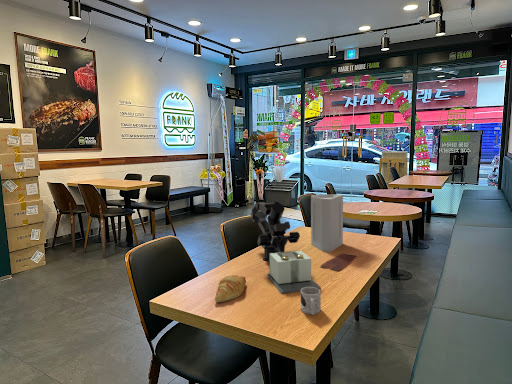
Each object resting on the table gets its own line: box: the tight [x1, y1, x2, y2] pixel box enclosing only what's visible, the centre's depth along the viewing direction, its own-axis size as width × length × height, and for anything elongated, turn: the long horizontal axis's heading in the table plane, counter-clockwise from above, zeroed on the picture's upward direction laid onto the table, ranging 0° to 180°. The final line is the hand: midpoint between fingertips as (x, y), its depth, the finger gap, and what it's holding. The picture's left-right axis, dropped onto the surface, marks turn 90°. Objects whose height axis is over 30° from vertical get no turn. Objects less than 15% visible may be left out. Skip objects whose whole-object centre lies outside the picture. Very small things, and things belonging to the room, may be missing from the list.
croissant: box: [214, 275, 247, 303], centre depth 130 cm, size 21×10×8 cm, turn 156°
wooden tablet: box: [319, 253, 358, 272], centre depth 163 cm, size 27×10×2 cm, turn 144°
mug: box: [300, 287, 322, 316], centre depth 113 cm, size 10×7×7 cm, turn 178°
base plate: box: [266, 255, 322, 295], centre depth 139 cm, size 20×16×11 cm
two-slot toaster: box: [268, 250, 312, 284], centre depth 142 cm, size 12×14×9 cm
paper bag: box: [310, 193, 344, 253], centre depth 189 cm, size 19×15×28 cm
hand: (283, 255), depth 150 cm, fingers closed
